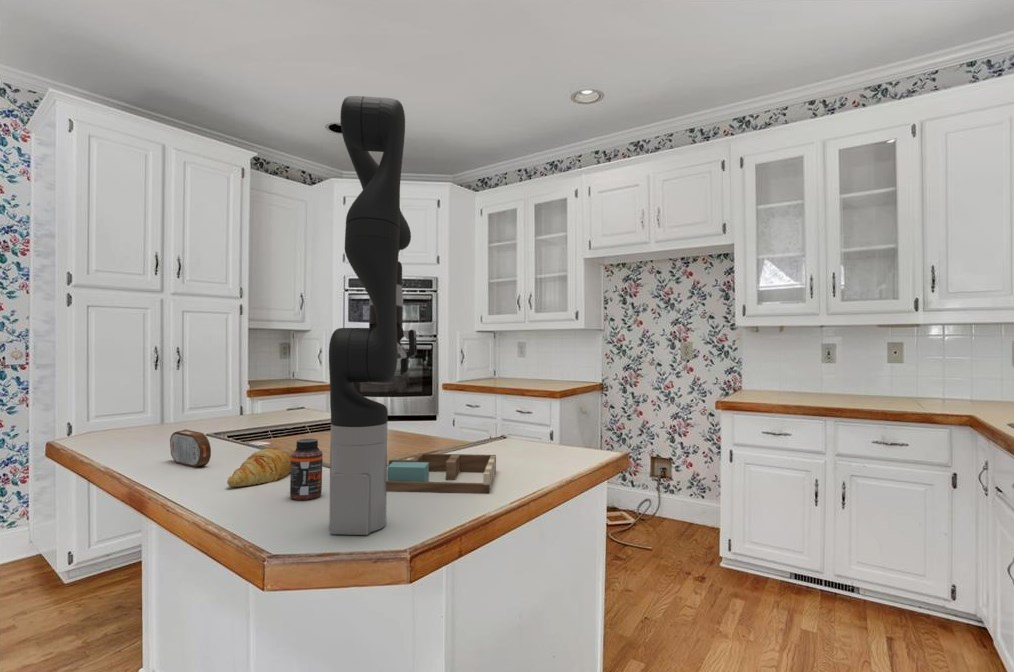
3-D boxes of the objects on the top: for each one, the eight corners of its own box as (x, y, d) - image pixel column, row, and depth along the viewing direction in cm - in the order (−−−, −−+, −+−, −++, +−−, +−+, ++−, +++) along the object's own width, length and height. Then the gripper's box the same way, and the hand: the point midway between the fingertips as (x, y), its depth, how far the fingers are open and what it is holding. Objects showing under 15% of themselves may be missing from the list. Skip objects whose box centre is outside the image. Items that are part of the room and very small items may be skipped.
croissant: (240, 508, 110) (256, 475, 109) (205, 482, 112) (219, 450, 111) (303, 481, 130) (317, 453, 129) (272, 459, 132) (285, 432, 131)
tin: (211, 467, 130) (212, 433, 130) (198, 470, 128) (199, 435, 128) (180, 460, 138) (180, 427, 138) (167, 462, 136) (167, 429, 136)
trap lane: (489, 493, 109) (489, 473, 109) (375, 490, 110) (375, 471, 111) (495, 471, 128) (496, 454, 128) (398, 469, 130) (398, 453, 130)
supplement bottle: (311, 502, 102) (312, 443, 102) (283, 500, 103) (284, 441, 104) (327, 493, 108) (328, 438, 108) (301, 491, 109) (302, 436, 110)
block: (424, 488, 113) (424, 467, 113) (387, 488, 113) (387, 466, 114) (428, 482, 118) (428, 462, 118) (392, 482, 118) (393, 461, 119)
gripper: (350, 303, 120) (348, 375, 119) (412, 303, 119) (411, 375, 118) (361, 306, 127) (360, 374, 126) (420, 306, 126) (419, 374, 125)
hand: (385, 374), depth 122 cm, fingers open, 8 cm apart
